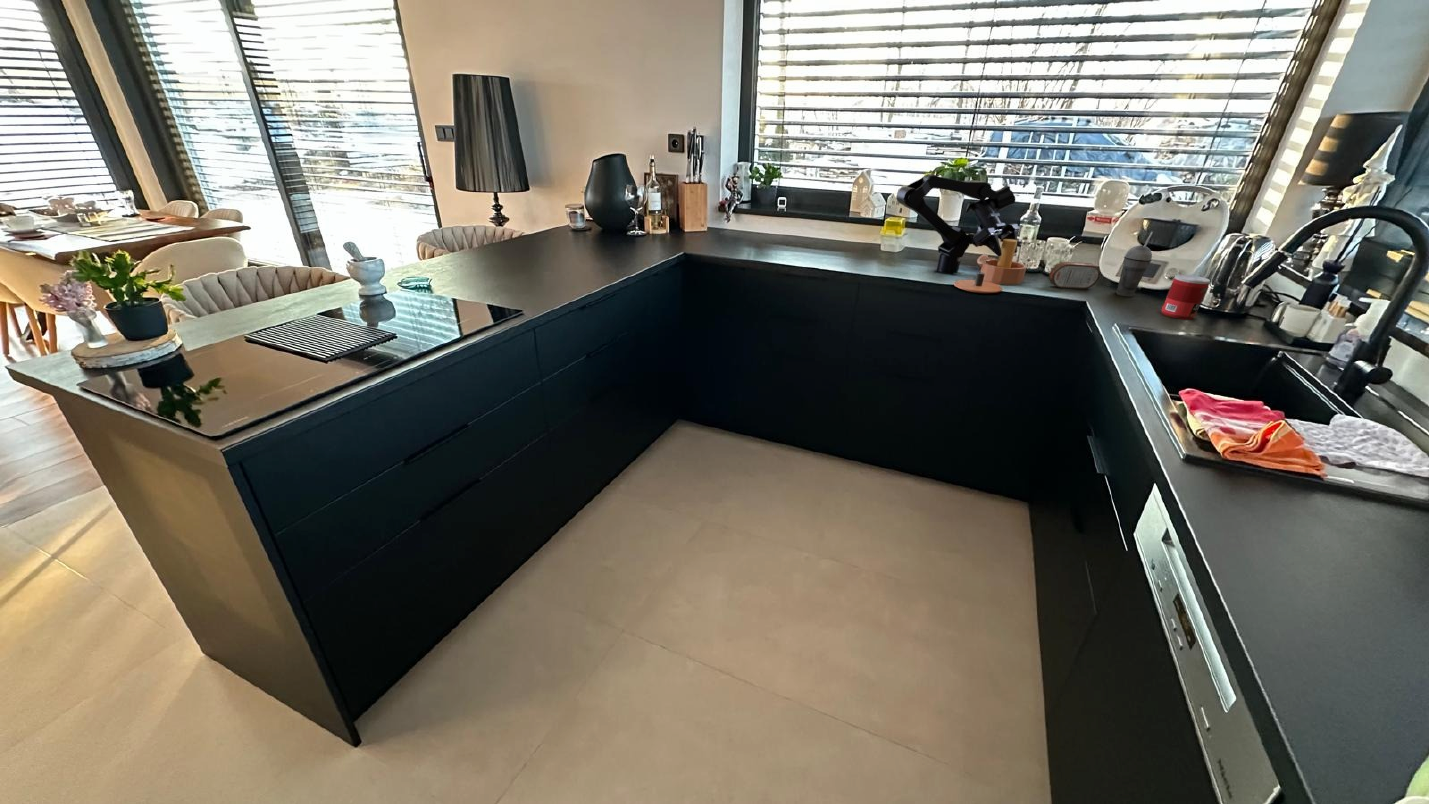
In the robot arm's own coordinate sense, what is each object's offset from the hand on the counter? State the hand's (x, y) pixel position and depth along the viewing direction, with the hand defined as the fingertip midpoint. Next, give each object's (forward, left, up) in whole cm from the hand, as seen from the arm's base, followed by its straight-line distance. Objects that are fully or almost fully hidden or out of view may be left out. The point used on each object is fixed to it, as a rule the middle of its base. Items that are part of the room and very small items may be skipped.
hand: (1008, 254), depth 189 cm
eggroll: (0, 0, -8) cm, 8 cm away
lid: (-3, -18, -8) cm, 20 cm away
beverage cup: (+36, +8, -9) cm, 38 cm away
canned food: (+50, -8, -9) cm, 51 cm away
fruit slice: (-8, +13, -9) cm, 18 cm away
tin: (+21, +5, -9) cm, 23 cm away
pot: (0, 0, -9) cm, 9 cm away
